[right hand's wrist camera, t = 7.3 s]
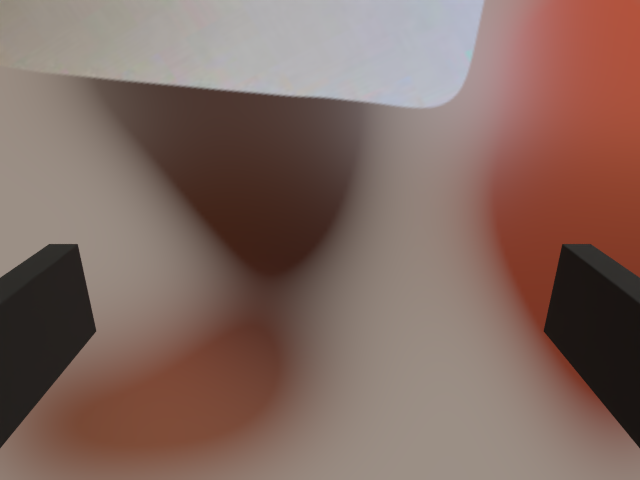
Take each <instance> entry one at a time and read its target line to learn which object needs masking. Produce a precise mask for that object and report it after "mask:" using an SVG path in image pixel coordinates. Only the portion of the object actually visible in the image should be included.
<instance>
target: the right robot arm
mask: <svg viewBox="0 0 640 480" xmlns="http://www.w3.org/2000/svg"><path fill="white" fill-rule="evenodd" d="M95 332H96V328H95V323H94V318H93V314H92V309H91V304H90V300H89V295H88V290H87V286H86V281H85V276H84V272H83V267H82V262H81V258H80V253H79V248H78V244H49V245H47V246H46V247H44V248H43V249H42V250H40V251H39V252H37V253H36V254H34V255H33V256H31V257H30V258H28V259H27V260H26V261H24V262H23V263H21V264H20V265H18V266H17V267H15V268H14V269H12V270H11V271H10V272H8V273H7V274H5V275H4V276H2V277H1V278H0V448H1V447H2V445H3V444H4V443H5V442H6V441H7V439H8V438H9V437H10V436H11V434H12V433H13V432H14V431H15V429H16V428H17V427H18V426H19V425H20V423H21V422H22V421H23V420H24V418H25V417H26V416H27V415H28V414H29V412H30V411H31V410H32V409H33V408H34V406H35V405H36V404H37V403H38V401H39V400H40V399H41V398H42V397H43V395H44V394H45V393H46V392H47V391H48V389H49V388H50V387H51V386H52V384H53V383H54V382H55V381H56V380H57V378H58V377H59V376H60V375H61V373H62V372H63V371H64V370H65V369H66V367H67V366H68V365H69V364H70V363H71V361H72V360H73V359H74V358H75V356H76V355H77V354H78V353H79V351H80V350H81V349H82V348H83V347H84V345H85V344H86V343H87V342H88V341H89V339H90V338H91V337H92V336H93V335H94V333H95ZM544 332H545V333H546V334H547V336H548V337H549V338H550V339H551V341H552V342H553V343H554V344H555V345H556V347H557V348H558V349H559V350H560V352H561V353H562V354H563V355H564V356H565V358H566V359H567V360H568V361H569V363H570V364H571V365H572V366H573V367H574V369H575V370H576V371H577V372H578V373H579V375H580V376H581V377H582V378H583V380H584V381H585V382H586V383H587V384H588V386H589V387H590V388H591V389H592V391H593V392H594V393H595V394H596V395H597V397H598V398H599V399H600V400H601V402H602V403H603V404H604V405H605V406H606V408H607V409H608V410H609V411H610V412H611V414H612V415H613V416H614V417H615V419H616V420H617V421H618V422H619V423H620V425H621V426H622V427H623V428H624V430H625V431H626V432H627V433H628V434H629V436H630V437H631V438H632V439H633V440H634V442H635V443H636V444H637V445H638V447H639V448H640V278H639V277H638V276H636V275H635V274H633V273H632V272H631V271H629V270H628V269H626V268H625V267H623V266H622V265H620V264H619V263H617V262H616V261H614V260H613V259H612V258H610V257H609V256H607V255H606V254H604V253H603V252H601V251H600V250H598V249H597V248H595V247H594V246H593V245H591V244H563V245H562V248H561V253H560V258H559V262H558V267H557V272H556V276H555V281H554V286H553V290H552V295H551V300H550V304H549V309H548V314H547V318H546V323H545V328H544Z"/></svg>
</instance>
